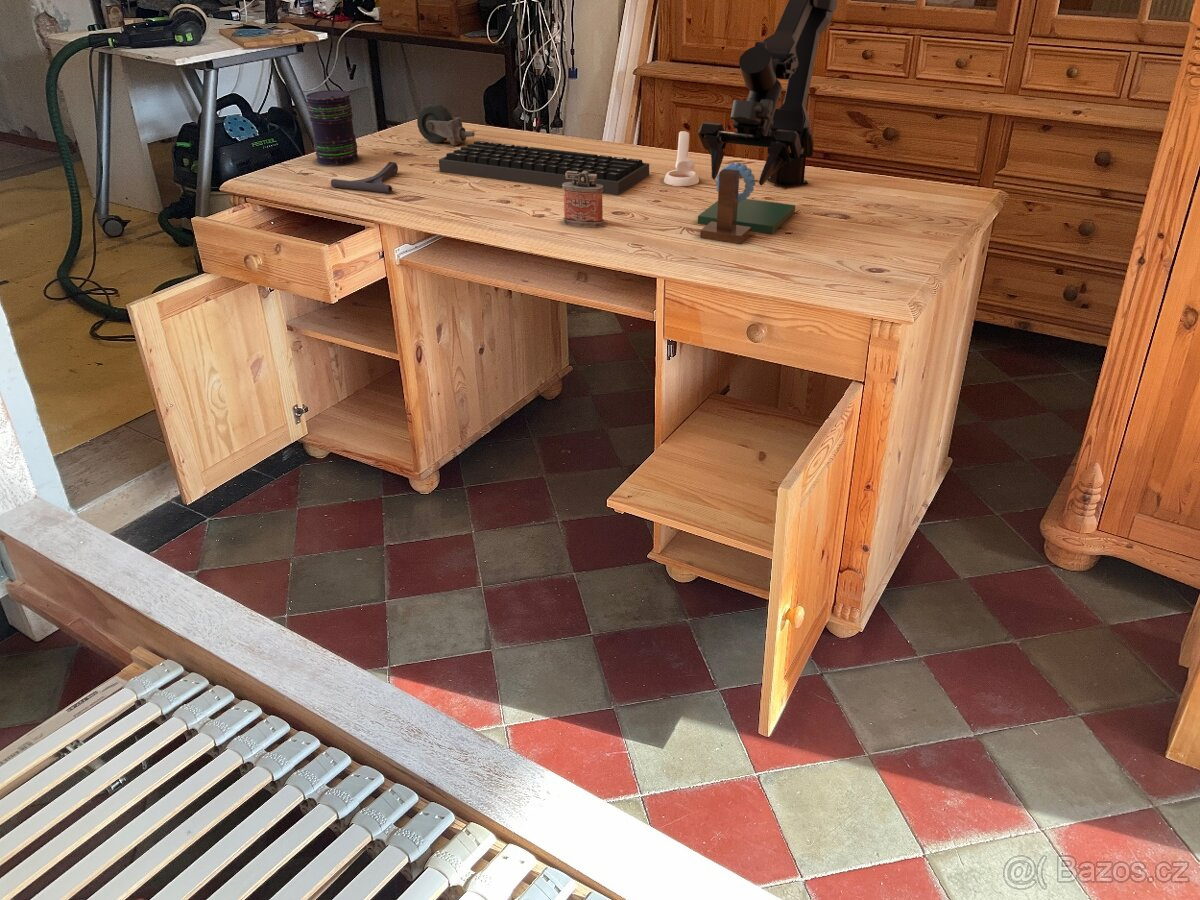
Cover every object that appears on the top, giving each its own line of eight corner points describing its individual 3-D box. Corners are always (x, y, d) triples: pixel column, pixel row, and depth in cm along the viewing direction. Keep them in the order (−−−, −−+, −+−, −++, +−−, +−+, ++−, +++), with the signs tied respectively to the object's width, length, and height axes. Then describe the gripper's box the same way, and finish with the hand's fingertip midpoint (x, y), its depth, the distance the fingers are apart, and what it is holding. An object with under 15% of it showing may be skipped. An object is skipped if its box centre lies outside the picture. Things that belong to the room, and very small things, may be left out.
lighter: (606, 222, 189) (605, 171, 183) (600, 228, 186) (599, 175, 181) (567, 218, 191) (565, 167, 186) (560, 224, 188) (559, 172, 183)
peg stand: (719, 221, 188) (722, 159, 182) (759, 227, 185) (763, 163, 179) (699, 237, 181) (702, 173, 174) (740, 243, 177) (745, 178, 171)
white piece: (693, 146, 217) (705, 133, 210) (691, 198, 215) (703, 187, 209) (661, 140, 215) (672, 128, 208) (659, 193, 213) (670, 182, 207)
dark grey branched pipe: (423, 175, 219) (422, 163, 217) (388, 194, 207) (386, 181, 205) (368, 170, 223) (367, 158, 222) (331, 188, 211) (329, 175, 210)
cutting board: (723, 203, 198) (723, 195, 197) (794, 212, 192) (795, 205, 192) (697, 223, 188) (697, 215, 187) (772, 234, 182) (772, 226, 181)
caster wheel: (417, 147, 244) (469, 146, 238) (410, 107, 239) (462, 105, 233) (429, 141, 248) (480, 140, 242) (422, 102, 243) (474, 100, 237)
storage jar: (310, 159, 232) (299, 93, 224) (350, 152, 236) (340, 88, 229) (324, 168, 225) (314, 101, 217) (365, 161, 229) (356, 95, 221)
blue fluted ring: (718, 197, 183) (720, 160, 180) (754, 202, 181) (756, 164, 177) (714, 200, 181) (716, 163, 178) (749, 205, 179) (752, 167, 175)
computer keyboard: (649, 175, 216) (649, 158, 214) (618, 195, 204) (618, 176, 202) (477, 154, 233) (476, 138, 231) (439, 171, 221) (438, 154, 219)
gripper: (703, 76, 179) (678, 151, 176) (802, 84, 171) (778, 163, 169) (717, 112, 189) (693, 183, 186) (811, 121, 181) (788, 195, 179)
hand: (736, 181), depth 180 cm, fingers open, 9 cm apart
